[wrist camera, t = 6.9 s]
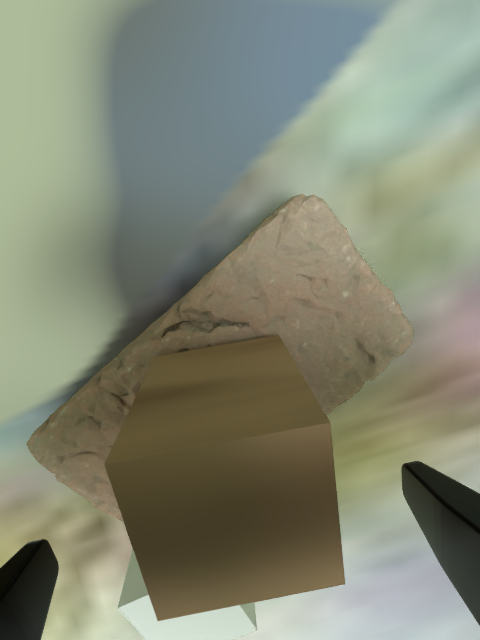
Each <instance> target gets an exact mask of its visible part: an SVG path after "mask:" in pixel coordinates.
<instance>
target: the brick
mask: <svg viewBox="0 0 480 640" xmlns="http://www.w3.org/2000/svg"><path fill="white" fill-rule="evenodd" d="M276 335H279V336H280V338H281V339H282V341H283V343H284V345H285V346H286V348H287V350H288V351H289V353H290V355H291V357H292V358H293V360H294V362H295V363H296V365H297V367H298V369H299V370H300V372H301V374H302V375H303V377H304V379H305V380H306V382H307V384H308V386H309V387H310V389H311V391H312V392H313V394H314V396H315V398H316V399H317V401H318V403H319V404H320V406H321V408H322V410H323V411H324V413H325V415H327V414H329V413H330V412H331V411H332V410H333V409H335V408H336V407H337V406H338V405H340V404H342V403H344V402H345V401H347V400H348V399H349V398H350V397H352V396H353V395H354V394H356V393H357V392H358V391H359V390H360V389H361V388H362V386H363V384H364V382H365V381H368V380H372V379H374V378H375V377H376V376H378V375H379V374H380V373H381V372H382V371H383V370H384V369H385V368H386V366H387V365H388V364H389V362H390V361H391V360H392V359H394V358H396V357H398V356H399V355H401V354H403V353H404V352H405V351H406V350H407V348H408V347H409V346H410V344H411V343H412V338H413V328H412V327H411V325H410V324H409V322H408V320H407V319H406V317H405V316H404V314H403V312H402V309H401V306H400V305H399V304H398V303H397V302H396V300H395V298H394V295H393V293H392V291H391V290H390V289H388V288H387V287H386V286H385V285H383V284H382V283H381V282H380V281H379V279H378V278H377V276H376V274H375V273H374V272H373V271H372V270H371V269H370V268H369V266H368V264H367V263H366V262H365V260H364V259H363V258H362V257H361V255H360V254H359V252H358V251H357V250H356V248H355V247H354V245H353V243H352V241H351V239H350V237H349V235H348V232H347V229H346V228H345V227H344V226H343V225H342V224H341V223H340V222H339V220H338V219H337V217H336V216H335V215H334V213H333V212H332V211H331V209H330V208H329V206H328V205H327V204H326V202H325V201H324V200H323V199H321V198H319V197H317V196H315V195H311V196H305V195H303V194H301V195H298V196H294V197H292V198H291V199H290V200H289V201H288V202H287V203H285V204H284V205H282V206H280V207H279V208H278V209H277V210H276V211H275V212H274V213H273V214H271V215H270V216H268V217H267V218H266V219H265V220H264V221H263V222H262V223H261V224H260V225H259V226H258V227H257V228H256V229H255V230H254V231H252V232H251V233H250V234H249V235H248V236H247V237H246V238H245V239H244V241H243V242H242V243H241V244H240V245H239V246H238V247H236V248H235V249H234V250H233V251H232V252H230V253H229V254H228V255H227V256H226V257H225V258H224V259H223V260H222V261H221V262H220V263H219V264H218V265H217V266H215V267H214V268H213V269H212V270H210V271H209V272H208V273H207V274H205V275H204V276H203V277H202V278H201V279H200V281H199V282H198V283H197V284H196V285H195V286H194V287H193V288H192V289H191V290H190V291H189V292H188V293H187V294H186V295H185V296H184V297H182V298H181V299H180V300H179V301H177V302H176V303H175V304H174V305H173V306H172V307H171V308H170V309H169V310H168V311H167V312H166V313H164V314H163V315H162V316H161V317H159V318H158V319H157V320H156V321H154V322H153V323H152V324H151V325H150V326H149V327H148V328H147V329H146V330H145V331H144V332H143V333H142V334H140V335H139V336H138V337H137V338H136V339H135V340H133V341H132V342H131V343H129V344H128V345H127V346H126V347H125V348H124V349H123V350H122V351H121V352H120V353H119V354H118V355H117V356H116V357H115V358H114V359H112V360H111V361H110V362H109V363H108V364H106V365H105V366H104V367H103V368H102V369H101V370H100V371H99V372H97V373H96V374H95V375H94V376H93V377H92V378H91V379H90V380H89V381H88V382H87V383H86V384H85V385H84V386H83V387H82V388H81V389H80V390H78V391H77V392H76V393H75V394H74V395H73V396H72V397H71V398H70V399H69V400H68V401H66V402H65V403H64V404H63V405H61V406H60V407H59V408H58V409H57V410H56V411H55V412H54V413H53V414H52V415H50V416H49V418H48V419H47V420H46V421H45V422H44V423H43V424H42V425H41V426H40V427H39V428H38V429H37V430H36V431H35V432H34V433H33V434H32V436H31V438H30V439H29V441H28V442H27V446H28V448H29V450H30V452H31V453H32V455H33V456H34V458H35V459H36V460H37V461H38V462H39V463H40V464H42V465H43V466H44V467H45V468H47V469H48V470H49V471H51V472H52V473H54V474H55V475H56V479H57V480H58V481H60V482H62V483H64V484H66V485H67V486H68V487H70V488H71V489H72V490H74V491H75V492H77V493H78V494H80V495H82V496H83V497H85V498H86V499H87V500H88V501H90V502H91V503H92V504H93V505H94V506H96V507H97V508H99V509H100V510H102V511H104V512H105V513H108V514H110V515H113V516H114V517H116V518H118V519H120V520H121V521H123V518H122V515H121V512H120V509H119V506H118V503H117V500H116V497H115V495H114V492H113V489H112V486H111V483H110V480H109V477H108V474H107V471H106V468H105V465H104V464H105V462H106V460H107V457H108V455H109V453H110V451H111V449H112V447H113V445H114V442H115V440H116V438H117V436H118V434H119V432H120V430H121V427H122V425H123V423H124V421H125V419H126V417H127V414H128V412H129V410H130V408H131V406H132V404H133V402H134V399H135V397H136V395H137V393H138V391H139V389H140V387H141V384H142V382H143V380H144V378H145V376H146V374H147V372H148V369H149V367H150V365H151V363H152V361H153V359H154V357H157V356H163V355H169V354H174V353H180V352H185V351H191V350H197V349H202V348H208V347H214V346H219V345H225V344H231V343H236V342H242V341H247V340H253V339H259V338H264V337H270V336H276ZM123 522H124V521H123Z"/></svg>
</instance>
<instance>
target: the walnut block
mask: <svg viewBox="0 0 480 640" xmlns="http://www.w3.org/2000/svg"><path fill="white" fill-rule="evenodd" d="M104 465H105V468H106V471H107V474H108V477H109V480H110V483H111V486H112V489H113V492H114V495H115V497H116V500H117V503H118V506H119V509H120V512H121V515H122V518H123V521H124V524H125V527H126V530H127V533H128V536H129V539H130V541H131V544H132V547H133V550H134V553H135V556H136V559H137V562H138V565H139V568H140V571H141V574H142V577H143V580H144V583H145V585H146V588H147V591H148V594H149V597H150V600H151V603H152V606H153V609H154V612H155V615H156V618H157V621H162V620H167V619H172V618H177V617H182V616H187V615H192V614H197V613H202V612H207V611H212V610H217V609H222V608H227V607H232V606H237V605H242V604H247V603H252V602H257V601H262V600H268V599H273V598H278V597H283V596H288V595H293V594H298V593H303V592H308V591H313V590H318V589H323V588H328V587H333V586H338V585H343V584H345V578H344V567H343V556H342V545H341V535H340V524H339V513H338V502H337V491H336V481H335V470H334V459H333V448H332V437H331V427H330V422H329V420H328V418H327V416H326V415H325V413H324V411H323V410H322V408H321V406H320V404H319V403H318V401H317V399H316V398H315V396H314V394H313V392H312V391H311V389H310V387H309V386H308V384H307V382H306V380H305V379H304V377H303V375H302V374H301V372H300V370H299V369H298V367H297V365H296V363H295V362H294V360H293V358H292V357H291V355H290V353H289V351H288V350H287V348H286V346H285V345H284V343H283V341H282V339H281V338H280V336H279V335H276V336H270V337H264V338H259V339H253V340H247V341H242V342H236V343H231V344H225V345H219V346H214V347H208V348H202V349H197V350H191V351H185V352H180V353H174V354H169V355H163V356H157V357H154V359H153V361H152V363H151V365H150V367H149V369H148V372H147V374H146V376H145V378H144V380H143V382H142V384H141V387H140V389H139V391H138V393H137V395H136V397H135V399H134V402H133V404H132V406H131V408H130V410H129V412H128V414H127V417H126V419H125V421H124V423H123V425H122V427H121V430H120V432H119V434H118V436H117V438H116V440H115V442H114V445H113V447H112V449H111V451H110V453H109V455H108V457H107V460H106V462H105V464H104Z"/></svg>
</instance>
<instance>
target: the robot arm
mask: <svg viewBox="0 0 480 640" xmlns="http://www.w3.org/2000/svg"><path fill="white" fill-rule="evenodd" d="M402 489H403V494H404V497H405V499H406V501H407V503H408V505H409V507H410V509H411V511H412V513H413V514H414V516H415V518H416V520H417V522H418V524H419V526H420V528H421V530H422V531H423V533H424V535H425V537H426V539H427V541H428V543H429V545H430V546H431V548H432V550H433V552H434V554H435V556H436V558H437V559H438V561H439V563H440V565H441V566H442V568H443V570H444V571H445V573H446V574H447V576H448V578H449V579H450V581H451V582H452V584H453V585H454V587H455V588H456V590H457V591H458V593H459V595H460V596H461V598H462V599H463V601H464V602H465V604H466V605H467V607H468V608H469V610H470V611H471V613H472V615H473V616H474V618H475V619H476V621H477V622H478V624H479V625H480V494H479V493H477V492H476V491H474V490H472V489H470V488H468V487H466V486H465V485H463V484H461V483H459V482H457V481H455V480H453V479H452V478H450V477H448V476H446V475H444V474H442V473H440V472H439V471H437V470H435V469H433V468H431V467H429V466H428V465H426V464H424V463H422V462H419V461H414V462H409V463H405V464H403V465H402ZM58 570H59V566H58V561H57V559H56V557H55V555H54V552H53V550H52V548H51V546H50V544H49V542H48V541H47V540H45V539H42V540H37V541H32V542H29V543H27V544H26V545H25V546H23V547H22V548H21V549H20V550H19V551H18V552H17V553H16V554H15V555H14V556H13V557H12V558H11V559H10V560H8V561H7V562H6V563H5V564H4V565H3V566H2V567H1V568H0V640H41V637H42V633H43V629H44V626H45V622H46V618H47V614H48V610H49V606H50V603H51V599H52V595H53V591H54V587H55V584H56V580H57V576H58Z"/></svg>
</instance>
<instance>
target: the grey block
mask: <svg viewBox="0 0 480 640" xmlns="http://www.w3.org/2000/svg"><path fill="white" fill-rule="evenodd" d="M118 609H119V610H120V611H121V612H122V614H123V615H124V616H125V617H126V618H127V619H128V620H129V621H130V623H131V624H132V625H133V626H134V627H135V628H136V629H137V631H138V632H139V633H140V634H141V635H142V636H143V637H144V638H145V640H234V639H237V638H239V637H242V636H244V635H246V634H249V633H251V632H253V631H256V630H257V625H256V615H255V606H254V602H252V603H247V604H242V605H237V606H232V607H227V608H222V609H217V610H212V611H207V612H202V613H197V614H192V615H187V616H182V617H177V618H172V619H167V620H162V621H157V618H156V615H155V612H154V609H153V606H152V603H151V600H150V597H149V594H148V591H147V588H146V585H145V583H144V580H143V577H142V574H141V571H140V568H139V565H138V562H137V559H136V556H135V553H134V550H132V554H131V558H130V562H129V566H128V569H127V573H126V577H125V581H124V585H123V589H122V593H121V597H120V601H119V605H118Z"/></svg>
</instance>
